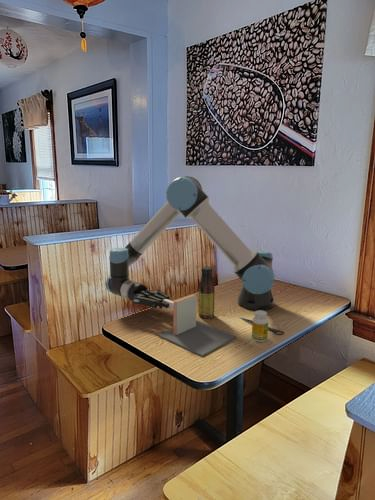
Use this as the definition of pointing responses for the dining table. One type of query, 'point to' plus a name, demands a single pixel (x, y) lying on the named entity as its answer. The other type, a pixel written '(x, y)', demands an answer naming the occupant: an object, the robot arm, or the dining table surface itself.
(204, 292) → the sauce bottle
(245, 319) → the throwing knife
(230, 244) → the robot arm
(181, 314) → the terracotta tile
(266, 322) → the supplement bottle
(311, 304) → the dining table surface
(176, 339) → the rubber mat
